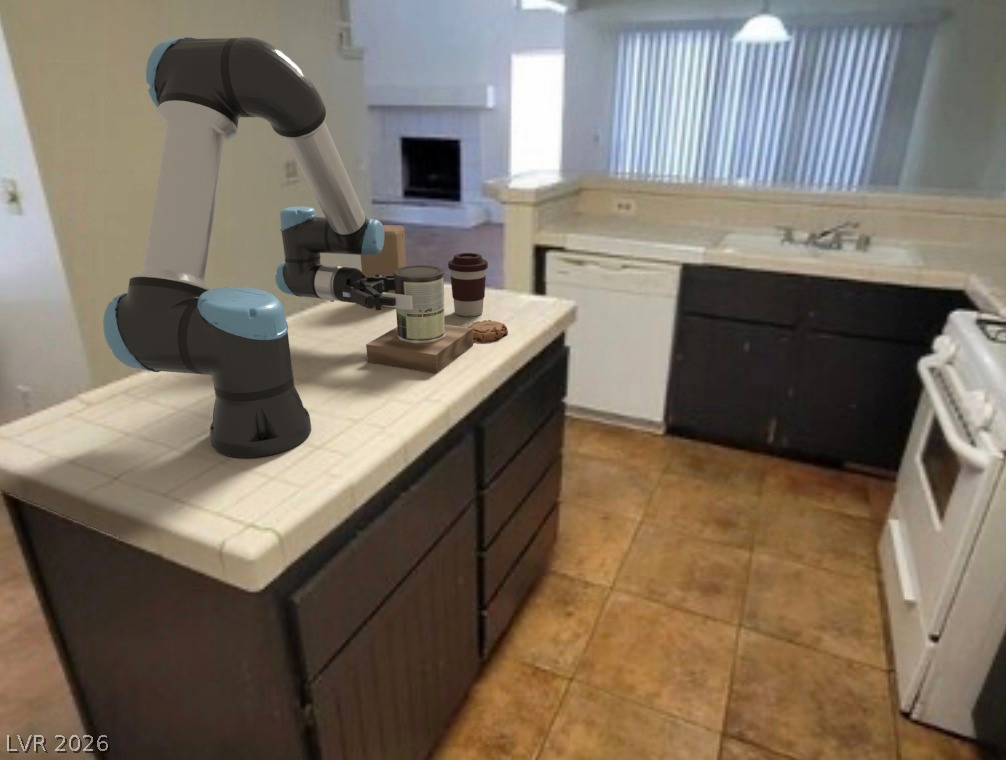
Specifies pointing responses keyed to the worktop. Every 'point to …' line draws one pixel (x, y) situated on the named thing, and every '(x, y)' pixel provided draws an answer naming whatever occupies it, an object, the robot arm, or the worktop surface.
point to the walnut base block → (420, 350)
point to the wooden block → (387, 254)
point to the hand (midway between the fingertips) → (428, 294)
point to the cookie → (488, 330)
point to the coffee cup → (468, 283)
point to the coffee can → (421, 304)
